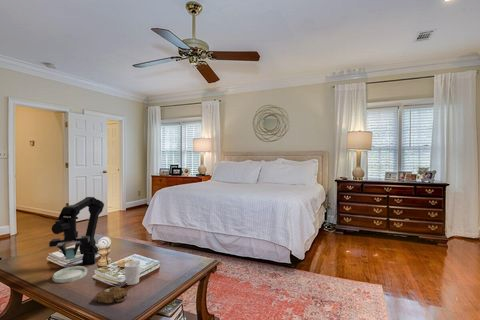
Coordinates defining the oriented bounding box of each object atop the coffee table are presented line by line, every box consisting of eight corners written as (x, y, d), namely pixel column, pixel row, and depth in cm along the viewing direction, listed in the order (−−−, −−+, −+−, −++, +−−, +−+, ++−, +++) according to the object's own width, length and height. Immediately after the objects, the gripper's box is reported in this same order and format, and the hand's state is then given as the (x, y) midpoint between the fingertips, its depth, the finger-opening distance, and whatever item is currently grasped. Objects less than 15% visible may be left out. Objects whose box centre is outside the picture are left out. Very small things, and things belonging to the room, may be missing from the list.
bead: (75, 255, 150) (75, 247, 150) (74, 258, 146) (73, 249, 146) (66, 256, 149) (66, 248, 149) (64, 259, 145) (64, 250, 144)
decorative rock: (133, 293, 130) (104, 293, 131) (133, 285, 131) (104, 285, 132) (121, 305, 119) (90, 305, 120) (121, 296, 119) (90, 296, 120)
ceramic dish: (89, 267, 158) (89, 264, 158) (83, 279, 143) (83, 276, 143) (57, 271, 152) (57, 268, 152) (49, 284, 137) (49, 281, 137)
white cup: (143, 280, 144) (143, 262, 143) (133, 286, 136) (133, 268, 136) (131, 277, 146) (131, 260, 146) (121, 284, 139) (121, 265, 138)
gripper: (91, 223, 158) (91, 248, 158) (54, 226, 151) (55, 253, 152) (88, 228, 148) (88, 255, 148) (48, 231, 141) (48, 260, 141)
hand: (70, 255), depth 147 cm, fingers closed on bead, 4 cm apart
